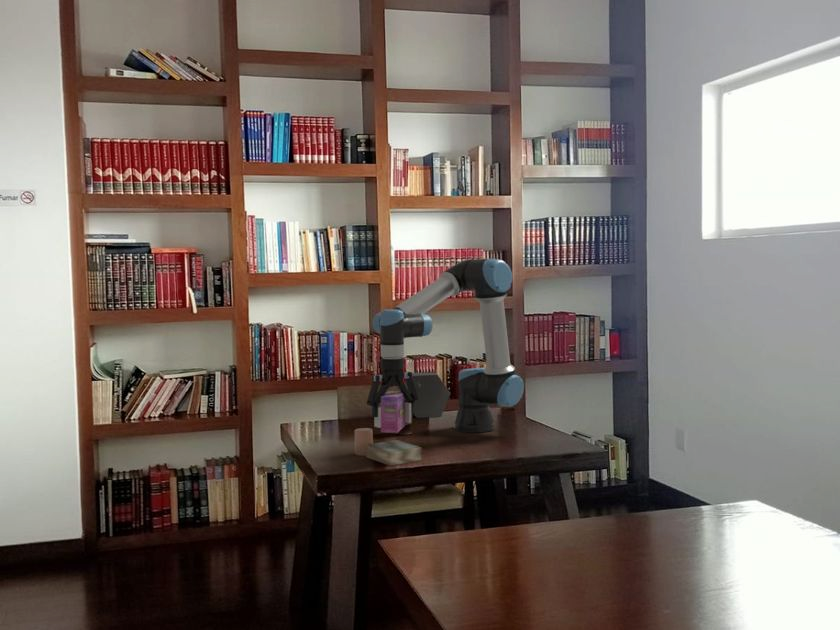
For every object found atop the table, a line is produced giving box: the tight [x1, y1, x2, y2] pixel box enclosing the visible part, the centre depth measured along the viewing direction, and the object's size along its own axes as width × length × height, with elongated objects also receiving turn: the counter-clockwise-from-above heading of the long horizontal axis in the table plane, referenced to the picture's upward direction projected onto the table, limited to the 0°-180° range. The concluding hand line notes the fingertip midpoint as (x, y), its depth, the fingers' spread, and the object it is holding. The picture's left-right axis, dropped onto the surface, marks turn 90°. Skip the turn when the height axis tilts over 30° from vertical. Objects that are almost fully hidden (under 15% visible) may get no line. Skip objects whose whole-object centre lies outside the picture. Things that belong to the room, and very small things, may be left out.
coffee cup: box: [394, 399, 414, 436], centre depth 306 cm, size 9×8×13 cm
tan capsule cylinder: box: [354, 427, 374, 457], centre depth 275 cm, size 6×6×8 cm
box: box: [380, 390, 405, 434], centre depth 267 cm, size 10×6×12 cm, turn 168°
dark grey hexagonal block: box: [404, 371, 451, 419], centre depth 340 cm, size 17×8×21 cm
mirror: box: [366, 439, 422, 466], centre depth 268 cm, size 12×14×4 cm
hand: (393, 424), depth 267 cm, fingers closed on box, 11 cm apart
